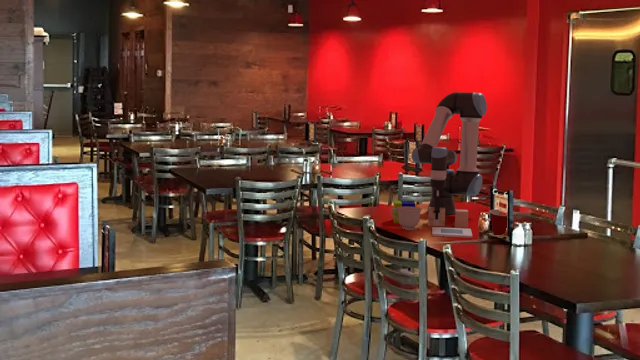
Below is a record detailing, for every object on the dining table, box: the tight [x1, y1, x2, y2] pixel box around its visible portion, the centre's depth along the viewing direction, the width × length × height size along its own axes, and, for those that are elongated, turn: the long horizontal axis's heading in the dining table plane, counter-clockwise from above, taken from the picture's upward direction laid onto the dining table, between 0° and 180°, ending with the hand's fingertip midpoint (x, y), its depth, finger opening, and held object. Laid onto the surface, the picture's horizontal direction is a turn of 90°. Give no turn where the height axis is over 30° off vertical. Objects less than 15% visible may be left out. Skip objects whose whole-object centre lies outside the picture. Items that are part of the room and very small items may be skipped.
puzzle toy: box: [392, 200, 416, 224], centre depth 405 cm, size 10×10×10 cm
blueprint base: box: [431, 226, 473, 239], centre depth 377 cm, size 18×18×1 cm
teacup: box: [390, 206, 423, 231], centre depth 385 cm, size 12×15×10 cm
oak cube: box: [427, 207, 446, 227], centre depth 399 cm, size 8×8×8 cm
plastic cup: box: [488, 209, 514, 235], centre depth 369 cm, size 11×11×12 cm
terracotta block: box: [454, 208, 469, 229], centre depth 395 cm, size 6×6×8 cm
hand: (436, 224), depth 399 cm, fingers open, 9 cm apart
